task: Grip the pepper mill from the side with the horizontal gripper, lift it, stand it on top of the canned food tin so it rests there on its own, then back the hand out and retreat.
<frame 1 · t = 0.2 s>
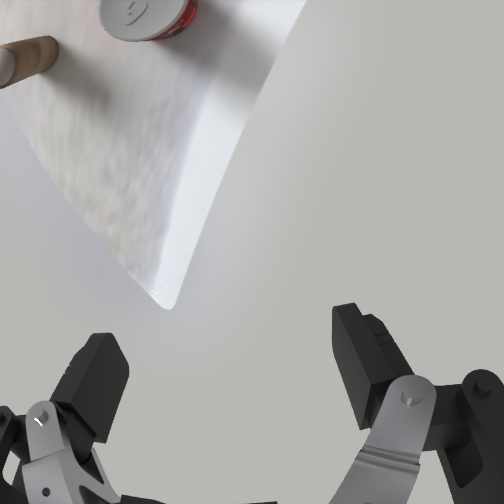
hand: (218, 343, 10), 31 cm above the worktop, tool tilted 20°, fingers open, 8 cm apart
canned food: (164, 10, 23), on the worktop
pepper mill: (42, 53, 22), on the worktop
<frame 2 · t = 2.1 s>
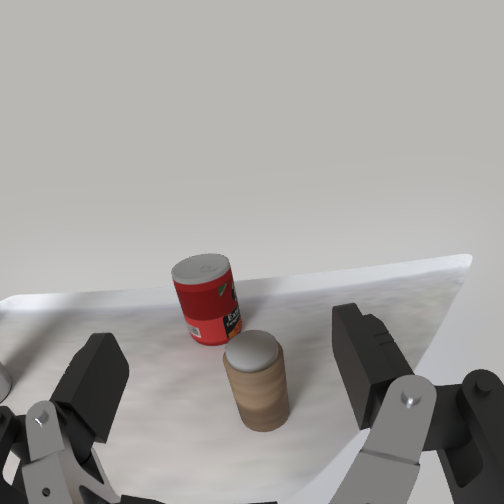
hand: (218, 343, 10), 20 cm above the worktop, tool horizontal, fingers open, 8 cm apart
canned food: (216, 331, 42), on the worktop
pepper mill: (264, 412, 28), on the worktop
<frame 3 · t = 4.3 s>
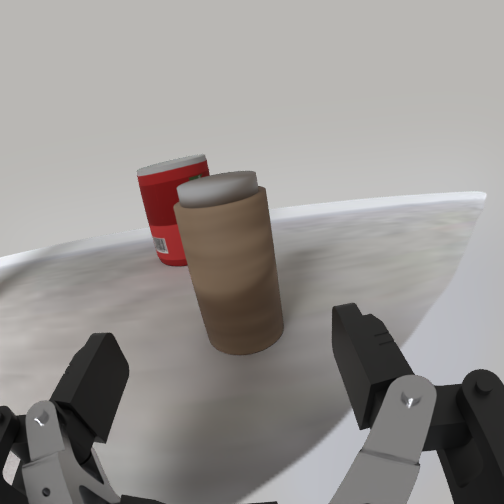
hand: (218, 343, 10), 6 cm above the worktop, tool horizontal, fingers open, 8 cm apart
canned food: (191, 254, 34), on the worktop
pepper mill: (245, 329, 20), on the worktop
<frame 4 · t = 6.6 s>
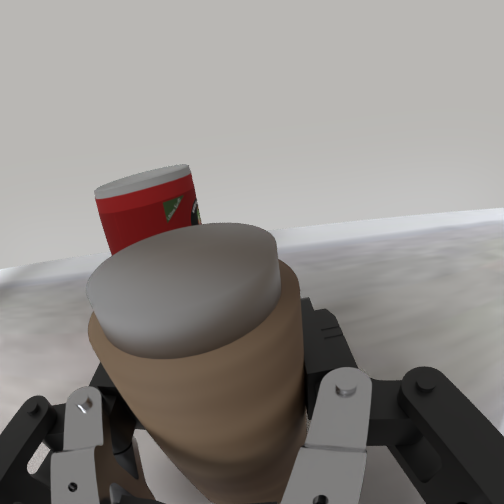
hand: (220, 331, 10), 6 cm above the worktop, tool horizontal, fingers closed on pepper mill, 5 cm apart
canned food: (174, 300, 25), on the worktop
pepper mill: (248, 462, 10), on the worktop, touching gripper
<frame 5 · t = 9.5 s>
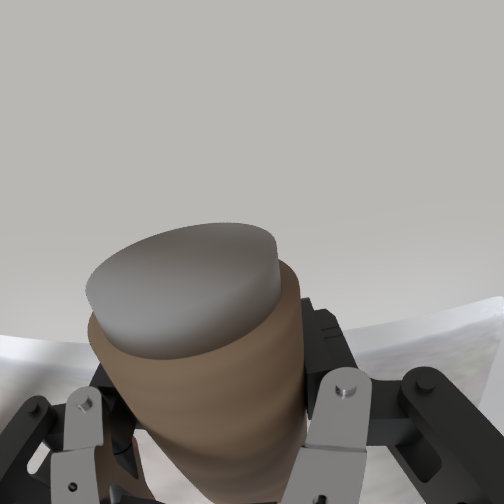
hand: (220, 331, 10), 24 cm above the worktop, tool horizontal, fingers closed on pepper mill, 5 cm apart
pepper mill: (248, 462, 10), point 18 cm above the worktop, touching gripper
when the fingers open (18 cm above the worktop, at t = 12.5 s): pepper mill drops 1 cm, resting on canned food.
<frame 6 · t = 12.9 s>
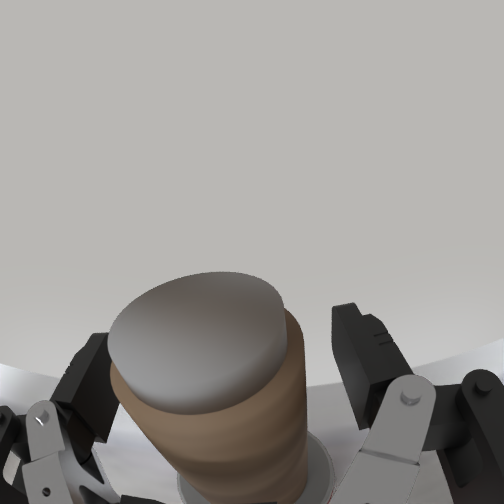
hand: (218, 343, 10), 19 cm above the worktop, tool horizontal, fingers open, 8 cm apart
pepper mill: (253, 475, 11), point 11 cm above the worktop, touching canned food
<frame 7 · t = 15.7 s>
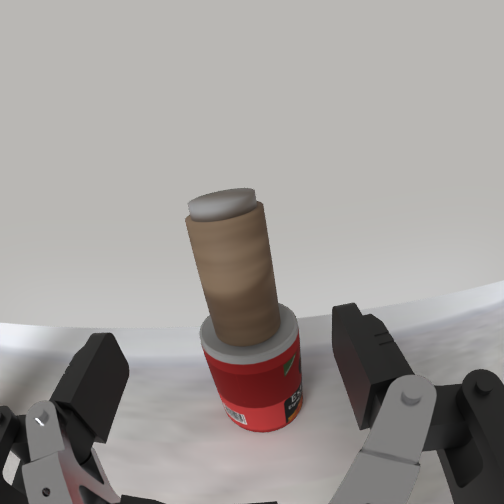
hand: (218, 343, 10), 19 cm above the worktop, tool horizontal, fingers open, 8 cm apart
canned food: (264, 406, 27), on the worktop, touching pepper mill
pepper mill: (247, 324, 22), point 11 cm above the worktop, touching canned food
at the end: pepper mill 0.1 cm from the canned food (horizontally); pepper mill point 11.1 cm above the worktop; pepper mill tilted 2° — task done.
